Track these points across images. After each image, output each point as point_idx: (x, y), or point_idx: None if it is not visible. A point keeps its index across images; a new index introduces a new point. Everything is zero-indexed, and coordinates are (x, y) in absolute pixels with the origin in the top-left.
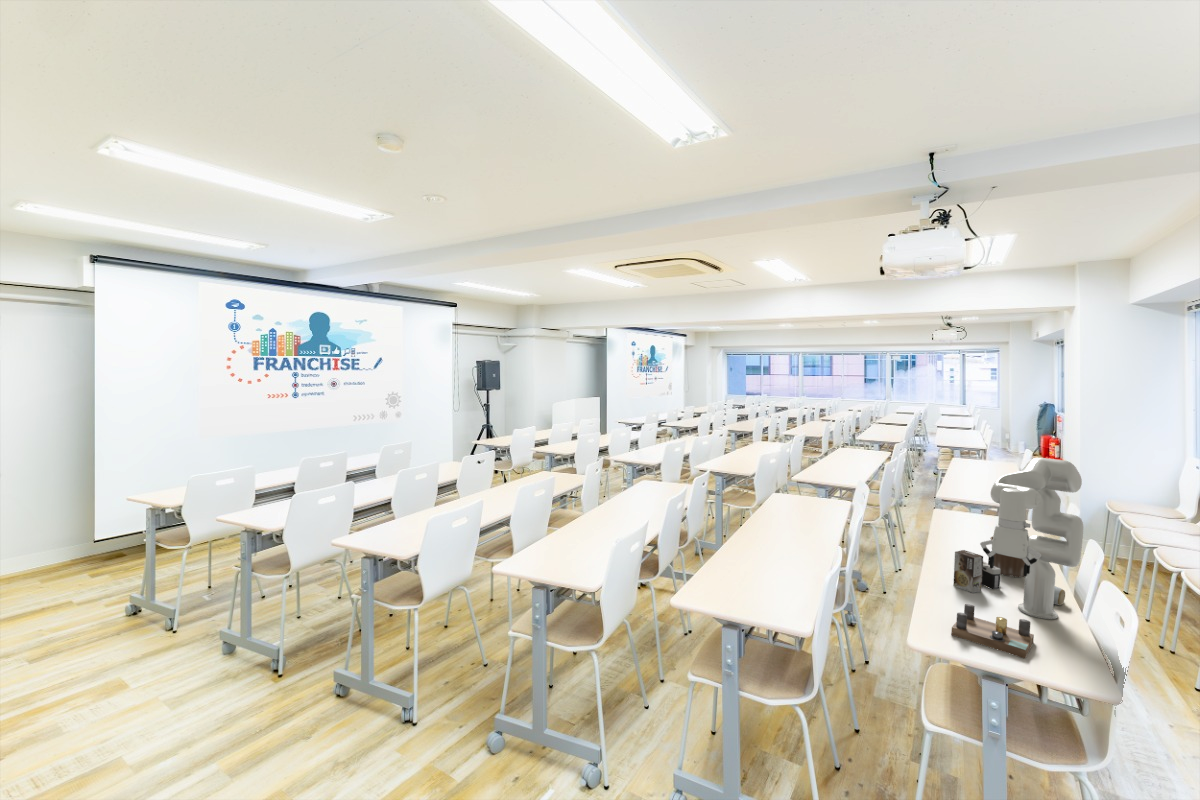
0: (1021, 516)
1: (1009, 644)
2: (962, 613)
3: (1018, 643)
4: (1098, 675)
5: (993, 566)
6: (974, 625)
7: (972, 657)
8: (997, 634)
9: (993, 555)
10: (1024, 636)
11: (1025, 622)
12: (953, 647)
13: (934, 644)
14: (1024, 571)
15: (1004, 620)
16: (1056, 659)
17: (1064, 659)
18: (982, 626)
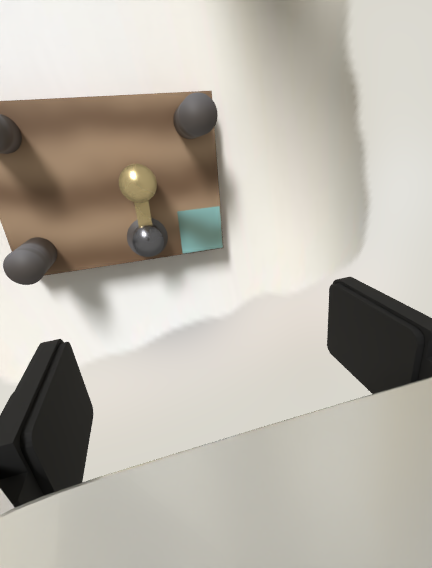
0: None
1: (184, 250)
2: (18, 256)
3: (199, 221)
4: (346, 183)
5: (73, 361)
6: (54, 193)
7: (135, 344)
8: (153, 255)
9: (24, 498)
10: (195, 141)
11: (204, 129)
12: (81, 336)
13: None
14: (358, 377)
15: (150, 192)
16: (270, 173)
17: (285, 153)
18: (75, 178)
